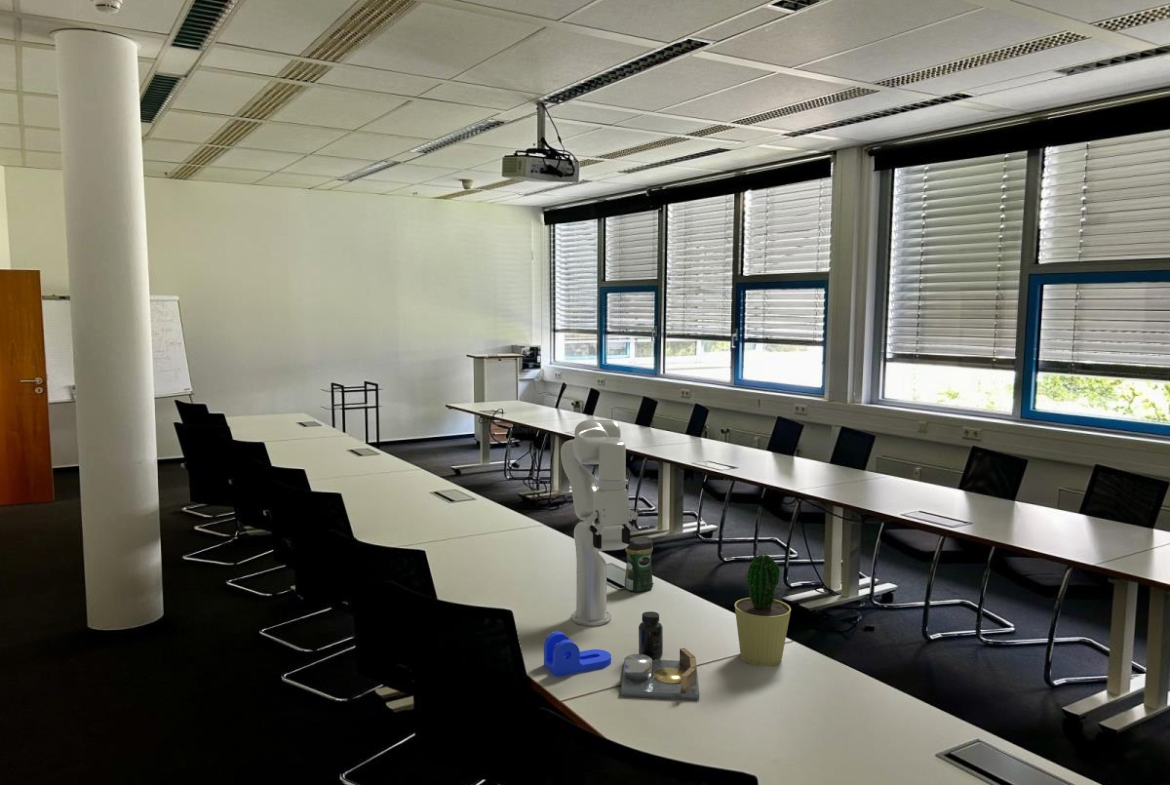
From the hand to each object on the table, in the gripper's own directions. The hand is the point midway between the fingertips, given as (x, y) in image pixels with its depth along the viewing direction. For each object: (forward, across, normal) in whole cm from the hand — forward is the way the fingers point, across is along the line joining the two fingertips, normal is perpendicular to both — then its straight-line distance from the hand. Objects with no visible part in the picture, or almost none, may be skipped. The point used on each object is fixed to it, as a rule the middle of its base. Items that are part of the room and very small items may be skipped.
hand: (611, 545), depth 227 cm
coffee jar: (+30, -40, -41) cm, 65 cm away
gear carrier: (+32, 0, +20) cm, 38 cm away
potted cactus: (+32, -34, +24) cm, 53 cm away
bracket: (+32, +11, +2) cm, 34 cm away
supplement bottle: (+31, -9, +7) cm, 33 cm away
